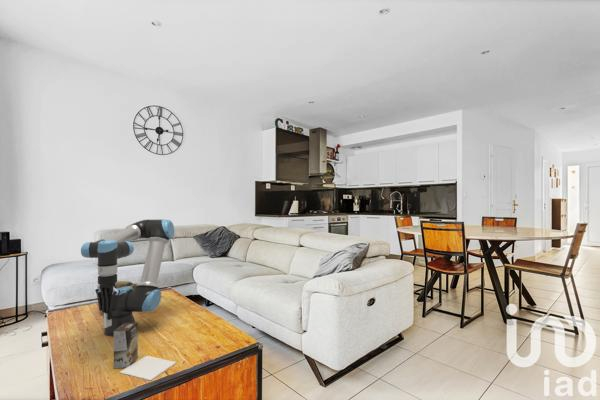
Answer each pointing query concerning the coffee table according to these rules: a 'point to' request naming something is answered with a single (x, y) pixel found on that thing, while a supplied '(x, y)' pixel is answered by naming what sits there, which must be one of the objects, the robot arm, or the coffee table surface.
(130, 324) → the coffee box
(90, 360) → the coffee table surface
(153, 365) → the mat
